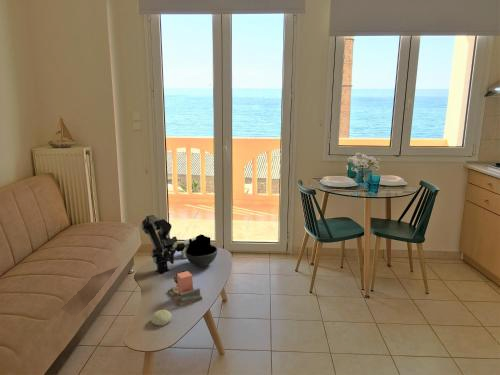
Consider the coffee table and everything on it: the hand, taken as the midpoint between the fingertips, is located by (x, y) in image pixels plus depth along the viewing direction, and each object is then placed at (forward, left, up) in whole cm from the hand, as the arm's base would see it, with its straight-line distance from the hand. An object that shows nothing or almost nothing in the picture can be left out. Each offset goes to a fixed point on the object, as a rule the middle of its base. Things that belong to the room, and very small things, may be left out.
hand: (172, 263), depth 212 cm
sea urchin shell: (+24, -28, -13) cm, 39 cm away
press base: (+15, -5, -12) cm, 20 cm away
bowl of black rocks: (-5, +27, -13) cm, 30 cm away
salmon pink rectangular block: (+16, -6, -11) cm, 20 cm away
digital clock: (-23, +35, -13) cm, 43 cm away
